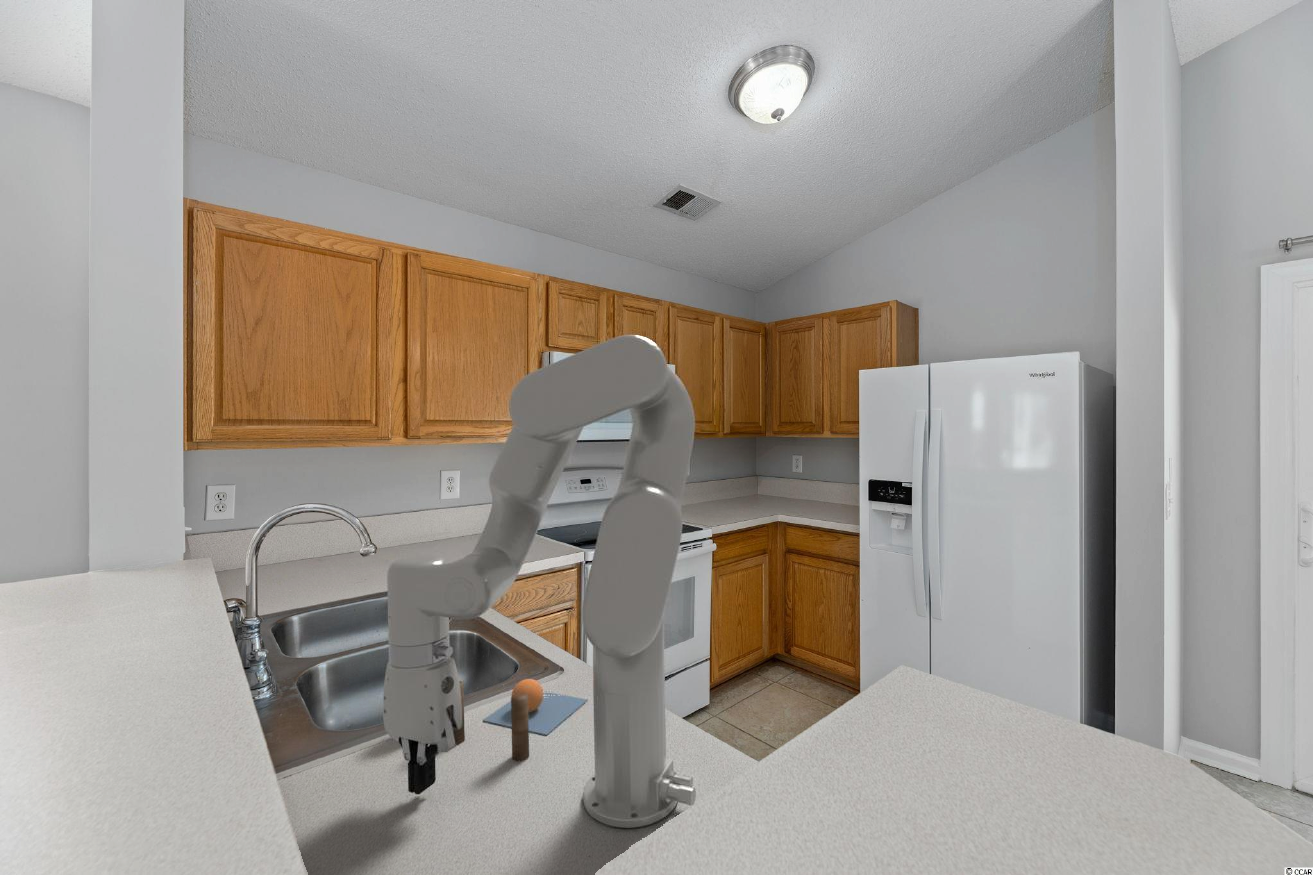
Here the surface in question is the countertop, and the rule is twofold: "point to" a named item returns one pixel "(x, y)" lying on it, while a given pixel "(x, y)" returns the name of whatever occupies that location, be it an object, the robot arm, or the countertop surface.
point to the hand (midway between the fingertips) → (422, 787)
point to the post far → (460, 733)
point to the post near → (520, 727)
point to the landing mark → (541, 713)
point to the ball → (530, 693)
